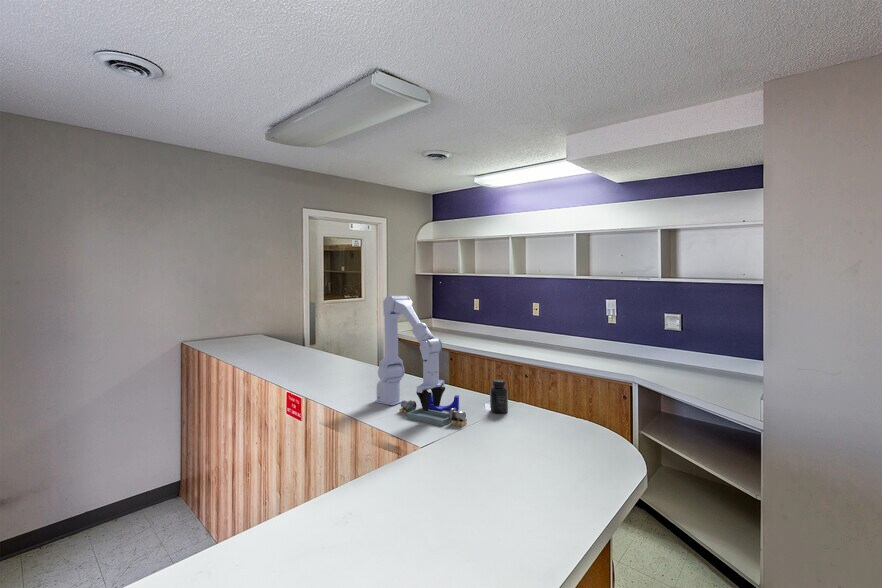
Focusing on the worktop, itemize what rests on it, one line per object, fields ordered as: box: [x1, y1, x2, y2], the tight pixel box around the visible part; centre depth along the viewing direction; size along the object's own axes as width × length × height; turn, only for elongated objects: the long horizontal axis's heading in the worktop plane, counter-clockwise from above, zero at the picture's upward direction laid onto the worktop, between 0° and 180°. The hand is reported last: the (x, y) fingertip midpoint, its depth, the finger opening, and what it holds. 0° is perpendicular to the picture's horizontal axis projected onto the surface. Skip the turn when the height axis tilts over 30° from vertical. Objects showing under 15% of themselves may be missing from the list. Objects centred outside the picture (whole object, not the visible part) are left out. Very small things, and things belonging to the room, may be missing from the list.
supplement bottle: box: [489, 379, 509, 415], centre depth 160 cm, size 7×7×12 cm
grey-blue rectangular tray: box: [406, 407, 452, 427], centre depth 151 cm, size 16×8×2 cm, turn 55°
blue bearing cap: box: [429, 394, 460, 412], centre depth 161 cm, size 12×4×6 cm, turn 80°
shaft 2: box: [448, 408, 468, 428], centre depth 145 cm, size 5×4×5 cm
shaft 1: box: [399, 399, 417, 416], centre depth 158 cm, size 5×4×5 cm
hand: (431, 408), depth 151 cm, fingers open, 6 cm apart
